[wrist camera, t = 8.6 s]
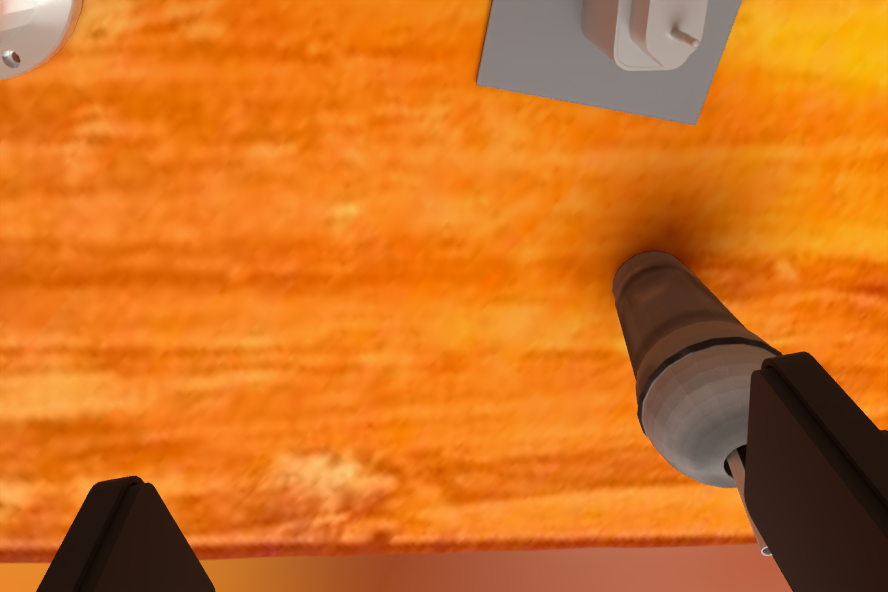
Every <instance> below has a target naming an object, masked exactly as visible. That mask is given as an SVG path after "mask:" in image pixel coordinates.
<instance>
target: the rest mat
mask: <svg viewBox="0 0 888 592" xmlns="http://www.w3.org/2000/svg"><path fill="white" fill-rule="evenodd" d="M741 2H742V0H708V4H707V10H706V16H705V22H704V28H703V35H702V38H701V42H700V44H699V46H698V47H697V49H696V50H695V51H694V52H693V53H691V54H690V55H689V56H688V58H687V60H686V61H685V62H684V63H683V64H682V65H681V66H679V67H678V68H675V69H673V70H651V71H627V70H624V69H622V68H621V67H619V66H618V65H617V64H616V63H614V62H613V61H612V60H611V59H610V58H608V57H607V56H606V55H605V54H604V53H603V52H601V51H600V50H599V49H598V48H597V47H595V46H594V45H593V44H592V43H591V42H589V41H588V40H587V39H586V38H585V37H584V35H583V33H582V28H581V23H582V11H583V0H492V4H491V9H490V14H489V19H488V24H487V29H486V34H485V39H484V45H483V50H482V55H481V60H480V65H479V70H478V75H477V80H476V85H480V86H485V87H491V88H496V89H502V90H507V91H512V92H518V93H523V94H529V95H534V96H539V97H545V98H550V99H556V100H561V101H566V102H572V103H577V104H583V105H588V106H593V107H599V108H604V109H610V110H615V111H621V112H626V113H631V114H637V115H642V116H648V117H653V118H658V119H664V120H669V121H675V122H680V123H685V124H691V125H696V123H697V121H698V118H699V115H700V113H701V110H702V107H703V104H704V102H705V99H706V96H707V94H708V91H709V88H710V86H711V83H712V80H713V78H714V75H715V72H716V69H717V67H718V64H719V61H720V59H721V56H722V53H723V51H724V48H725V45H726V43H727V40H728V37H729V34H730V32H731V29H732V26H733V24H734V21H735V18H736V16H737V13H738V10H739V7H740V5H741Z"/></svg>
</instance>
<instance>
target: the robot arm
mask: <svg viewBox="0 0 888 592" xmlns="http://www.w3.org/2000/svg"><path fill="white" fill-rule="evenodd" d="M82 1H83V0H0V80H5V79H9V78H12V77H15V76H18V75H21V74H25V73H27V72H29V71H31V70H33V69H35V68H37V67H39V66H41V65H43V64H45V63H46V62H47V61H49V60H50V59H51V58H52V57H53V56H54V55H56V54H57V53H58V52H59V51H60V50H61V49H62V47H63V46H64V44H65V43H66V42H67V40H68V39H69V37H70V36H71V34H72V33H73V31H74V28H75V25H76V23H77V20H78V18H79V15H80V13H81V7H82ZM17 55H18V56H19V58H20V59H19V58H18V57H17ZM744 498H745V503H746V507H747V510H748V512H749V515H750V517H751V519H752V520H753V522H754V524H755V526H756V528H757V529H758V531H759V533H760V535H761V536H762V538H763V540H764V542H765V543H766V545H767V547H768V549H769V550H770V552H771V554H772V556H773V557H774V559H775V561H776V563H777V564H778V566H779V568H780V570H781V572H782V573H783V575H784V577H785V579H786V580H787V582H788V584H789V586H790V587H791V589H792V591H793V592H888V431H887V430H879V429H878V428H877V427H876V426H875V425H874V423H873V422H872V421H871V420H870V419H869V418H868V417H867V416H866V415H865V414H864V412H863V411H862V410H861V409H860V408H859V407H858V406H857V405H856V404H855V402H854V401H853V400H852V399H851V398H850V397H849V396H848V395H847V394H846V393H845V391H844V390H843V389H842V388H841V387H840V386H839V385H838V384H837V383H836V382H835V380H834V379H833V378H832V377H831V376H830V375H829V374H828V373H827V372H826V371H825V369H824V368H823V367H822V366H821V365H820V364H819V363H818V362H817V361H816V359H815V358H814V357H813V356H811V355H810V354H809V353H807V352H804V351H803V352H798V353H793V354H787V355H782V356H776V357H771V358H767V359H764V361H763V362H762V366H761V369H760V370H755V371H753V372H752V374H751V383H750V399H749V416H748V432H747V449H746V465H745V482H744ZM36 592H215V588H214V586H213V584H212V582H211V581H210V579H209V577H208V575H207V574H206V572H205V570H204V569H203V567H202V565H201V564H200V562H199V560H198V559H197V557H196V555H195V554H194V552H193V550H192V549H191V547H190V545H189V544H188V542H187V540H186V539H185V537H184V535H183V534H182V532H181V530H180V529H179V527H178V525H177V524H176V522H175V520H174V519H173V517H172V515H171V514H170V512H169V510H168V509H167V507H166V505H165V504H164V502H163V500H162V499H161V497H160V495H159V494H158V492H157V490H156V489H155V487H154V486H153V485H152V484H150V483H144V482H143V481H142V479H141V478H139V477H137V476H129V477H123V478H118V479H112V480H107V481H102V482H98V483H96V484H95V485H94V486H93V487H92V488H91V490H90V491H89V493H88V495H87V497H86V499H85V501H84V503H83V505H82V506H81V508H80V510H79V512H78V514H77V516H76V518H75V520H74V521H73V523H72V525H71V527H70V529H69V531H68V533H67V535H66V536H65V538H64V540H63V542H62V544H61V546H60V548H59V550H58V552H57V553H56V555H55V557H54V559H53V561H52V563H51V565H50V567H49V568H48V570H47V572H46V574H45V576H44V578H43V580H42V582H41V584H40V585H39V587H38V589H37V591H36Z"/></svg>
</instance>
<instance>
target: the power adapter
mask: <svg viewBox="0 0 888 592" xmlns="http://www.w3.org/2000/svg"><path fill="white" fill-rule="evenodd" d="M707 4H708V0H583V11H582V23H581V28H582V33H583V35H584V37H585V38H586V39H587V40H588V41H589V42H591V43H592V44H593V45H594V46H595V47H597V48H598V49H599V50H600V51H601V52H603V53H604V54H605V55H606V56H607V57H608V58H610V59H611V60H612V61H613V62H614V63H616V64H617V65H618V66H619V67H621V68H622V69H624V70H627V71H651V70H673V69H675V68H678V67H679V66H681V65H682V64H683V63H684V62H685V61H686V60H687V58H688V56H689V55H690V54H691V53H693V52H694V51H695V50H696V49H697V47H698V46H699V44H700V42H701V38H702V35H703V28H704V22H705V16H706V10H707Z"/></svg>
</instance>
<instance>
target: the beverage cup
mask: <svg viewBox="0 0 888 592" xmlns="http://www.w3.org/2000/svg"><path fill="white" fill-rule="evenodd" d="M613 293H614V296H615V305H616V309H617V313H618V316H619V320H620V324H621V327H622V331H623V335H624V338H625V342H626V346H627V349H628V353H629V356H630V360H631V364H632V367H633V371H634V375H635V378H636V396H637V404H638V413H637V416H638V419H639V422H640V425H641V427H642V430H643V433H644V434H645V435H646V436H647V437H648V438H649V439H650V440H651V442H652V444H653V446H654V447H655V448H656V449H657V451H658V452H659V453H660V454H661V455H662V456H663V457H664V458H665V460H666V461H667V462H668V463H669V464H670V465H671V466H672V467H674V468H675V469H676V470H677V471H679V472H681V473H682V474H684V475H686V476H688V477H690V478H692V479H694V480H696V481H698V482H700V483H703V484H706V485H711V486H716V487H722V488H736V487H737V488H738V491H739V493H740V496H741V499H742V502H743V504H744V507H745V510H746V513H747V515H748V518H749V521H750V523H751V526H752V529H753V532H754V534H755V537H756V540H757V542H758V545H759V548H760V551H761V553H762V554H763V555H765V556H769V555H772V554H771V552H770V550H769V549H768V547H767V545H766V543H765V542H764V540H763V538H762V536H761V535H760V533H759V531H758V529H757V528H756V526H755V524H754V522H753V520H752V519H751V517H750V515H749V512H748V510H747V507H746V503H745V498H744V482H745V465H746V449H747V432H748V416H749V399H750V383H751V374H752V372H753V371H755V370H760V369H761V366H762V362H763V361H764V359H767V358H771V357H776V356H782V353H781V352H779V351H777V350H776V349H774V348H772V347H771V346H770V345H769V344H767V343H766V342H765V341H763V340H762V339H761V338H759V337H758V336H757V335H755V334H754V333H752V332H750V331H749V330H747V329H746V328H745V327H744V326H743V325H742V324H741V323H740V322H739V320H738V319H737V318H736V317H735V316H734V315H733V314H732V313H731V312H730V311H729V310H728V309H727V308H726V307H725V306H724V305H723V304H722V303H721V302H720V301H719V300H718V299H717V298H716V296H715V295H714V294H713V293H712V292H711V291H710V290H709V289H708V288H707V287H706V286H705V285H704V284H703V283H702V282H701V281H700V280H699V279H698V278H697V277H696V276H695V275H694V274H693V273H692V271H691V270H690V269H689V268H687V267H685V266H684V265H683V264H682V263H680V261H679V260H678V259H677V258H675V257H674V256H672V255H671V254H669V253H665V252H661V251H649V252H644V253H641V254H638V255H635V256H634V257H632V258H631V259H629V260H628V261H626V262H625V263H624V264H623V265H622V266H621V268H620V269H619V270H618V271H617V273H616V276H615V278H614V281H613Z"/></svg>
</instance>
